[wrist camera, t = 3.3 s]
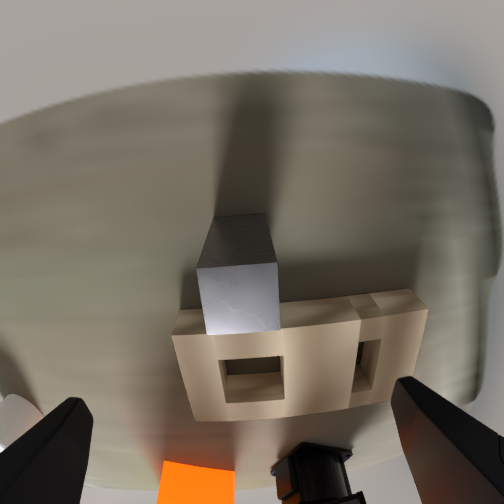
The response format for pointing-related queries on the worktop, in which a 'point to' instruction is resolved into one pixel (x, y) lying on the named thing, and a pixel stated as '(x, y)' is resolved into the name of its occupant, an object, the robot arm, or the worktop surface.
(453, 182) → the worktop surface
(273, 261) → the square bit
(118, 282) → the worktop surface
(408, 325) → the socket block
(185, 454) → the worktop surface
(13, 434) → the white cylinder
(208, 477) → the orange juice
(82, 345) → the worktop surface
